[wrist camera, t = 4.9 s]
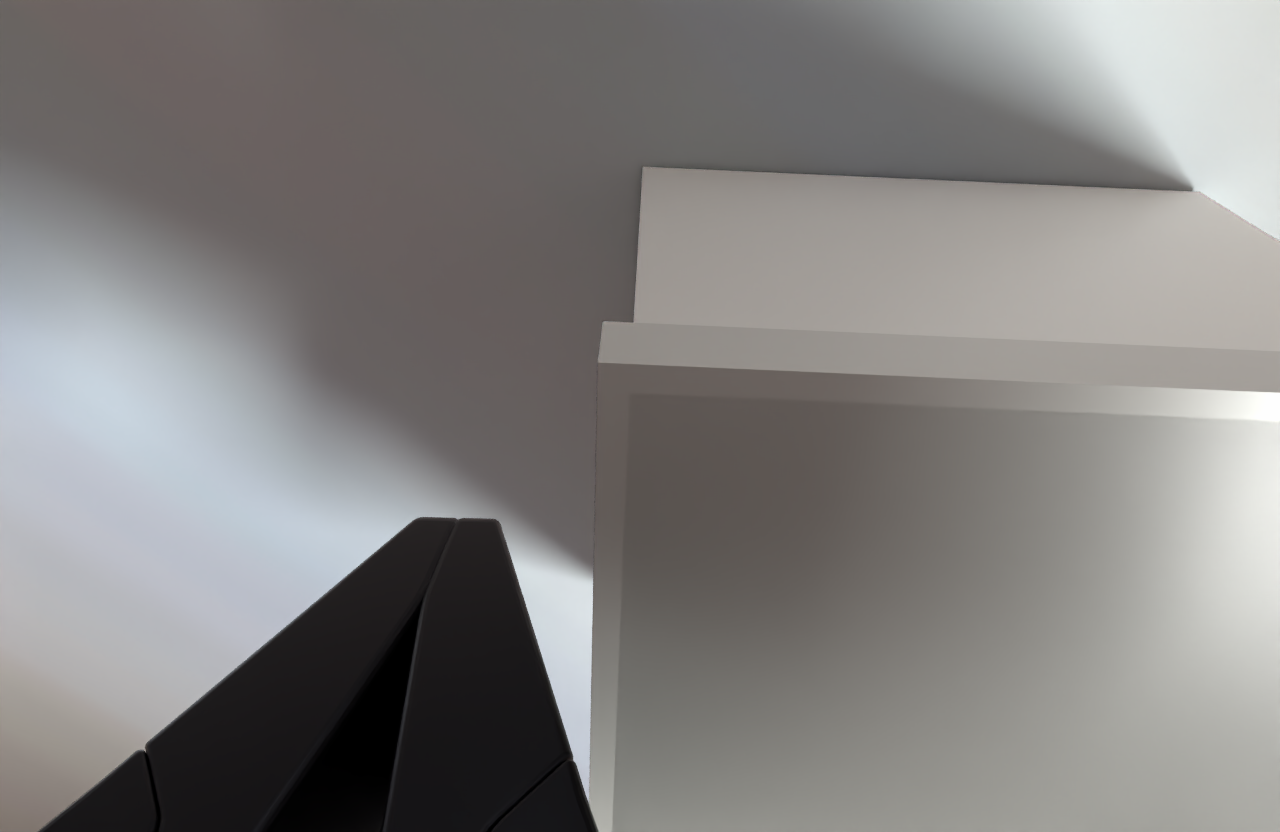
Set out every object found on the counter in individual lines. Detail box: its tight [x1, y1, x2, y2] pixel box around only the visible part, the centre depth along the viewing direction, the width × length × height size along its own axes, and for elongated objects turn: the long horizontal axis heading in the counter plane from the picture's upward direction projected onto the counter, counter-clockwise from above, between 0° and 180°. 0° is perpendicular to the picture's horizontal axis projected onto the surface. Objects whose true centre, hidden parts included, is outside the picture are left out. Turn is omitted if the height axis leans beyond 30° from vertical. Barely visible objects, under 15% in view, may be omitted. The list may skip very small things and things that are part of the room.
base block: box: [589, 167, 1280, 832], centre depth 10 cm, size 6×6×5 cm
